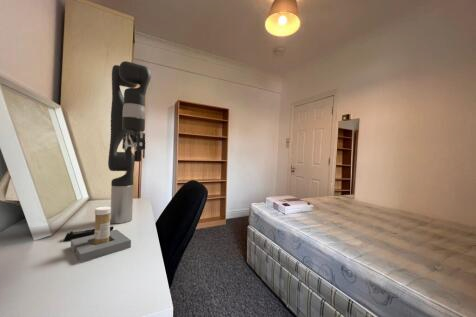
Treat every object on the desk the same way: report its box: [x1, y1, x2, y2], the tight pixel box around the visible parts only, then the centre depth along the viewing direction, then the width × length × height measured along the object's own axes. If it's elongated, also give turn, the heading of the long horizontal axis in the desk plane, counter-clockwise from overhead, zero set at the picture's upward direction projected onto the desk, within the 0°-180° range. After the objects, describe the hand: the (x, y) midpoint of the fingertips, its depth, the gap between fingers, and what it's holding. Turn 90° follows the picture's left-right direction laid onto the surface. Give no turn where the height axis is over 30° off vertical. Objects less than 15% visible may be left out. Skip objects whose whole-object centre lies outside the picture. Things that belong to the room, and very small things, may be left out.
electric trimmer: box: [63, 226, 115, 243], centre depth 77 cm, size 4×16×3 cm, turn 124°
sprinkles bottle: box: [94, 206, 111, 246], centre depth 68 cm, size 5×5×13 cm
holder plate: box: [70, 229, 132, 263], centre depth 68 cm, size 14×14×2 cm
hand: (132, 160), depth 74 cm, fingers open, 8 cm apart
